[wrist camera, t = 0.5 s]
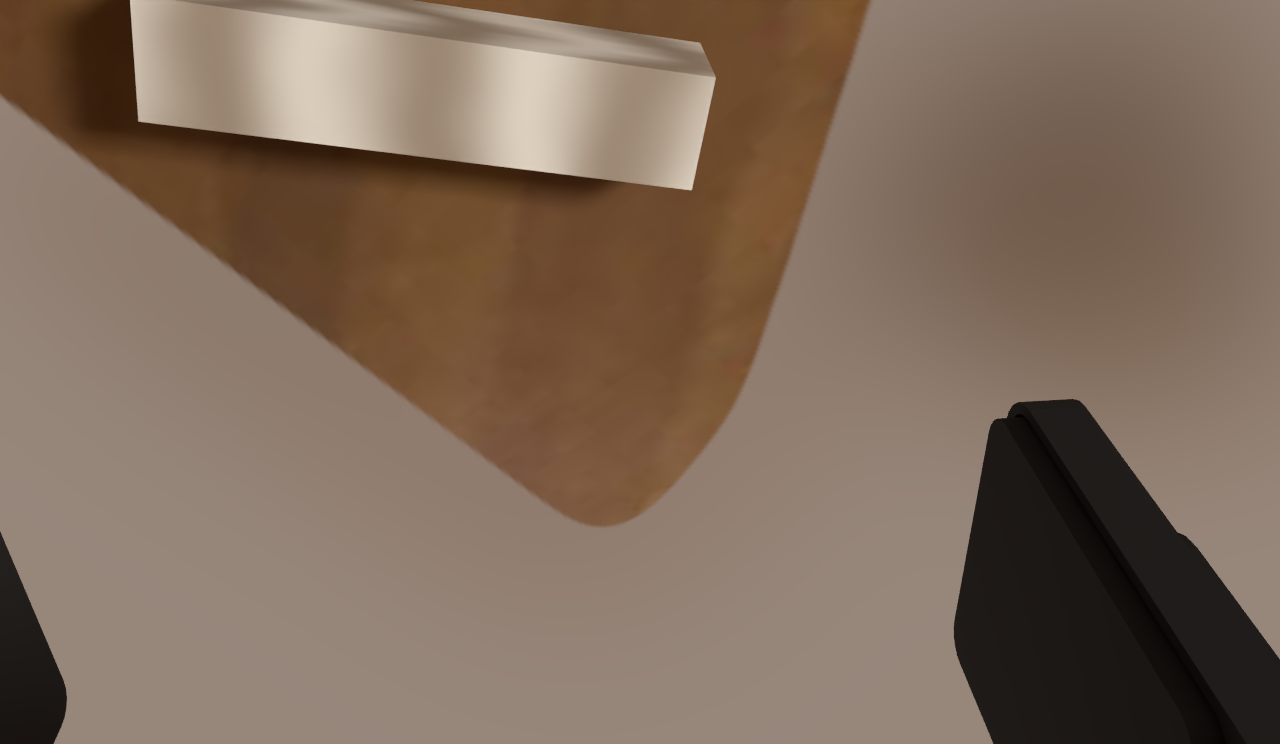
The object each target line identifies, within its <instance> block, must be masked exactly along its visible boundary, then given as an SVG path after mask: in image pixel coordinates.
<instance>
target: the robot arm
mask: <svg viewBox="0 0 1280 744" xmlns="http://www.w3.org/2000/svg"><path fill="white" fill-rule="evenodd" d="M954 640H955V647H956V652H957V656H958V659H959V662H960V664H961V667H962V669H963V672H964V674H965V676H966V679H967V681H968V684H969V686H970V688H971V691H972V693H973V696H974V698H975V700H976V703H977V705H978V707H979V710H980V712H981V715H982V717H983V720H984V722H985V724H986V727H987V729H988V732H989V734H990V736H991V739H992V741H993V744H1280V659H1279V658H1278V657H1277V655H1276V654H1275V652H1274V651H1273V650H1272V648H1271V647H1270V645H1269V644H1268V643H1267V641H1266V640H1265V639H1264V637H1263V636H1262V635H1261V633H1260V632H1259V631H1258V629H1257V628H1256V627H1255V625H1254V624H1253V623H1252V621H1251V620H1250V619H1249V617H1248V616H1247V614H1246V613H1245V612H1244V610H1243V609H1242V608H1241V606H1240V605H1239V604H1238V602H1237V601H1236V600H1235V598H1234V597H1233V595H1232V594H1231V593H1230V591H1229V590H1228V589H1227V587H1226V586H1225V585H1224V583H1223V582H1222V581H1221V579H1220V578H1219V577H1218V575H1217V574H1216V573H1215V571H1214V570H1213V568H1212V567H1211V566H1210V565H1209V563H1208V562H1207V560H1206V559H1205V558H1204V556H1203V555H1202V554H1201V552H1200V551H1199V550H1198V548H1197V547H1196V546H1195V545H1194V544H1193V543H1192V542H1191V541H1190V540H1189V539H1188V538H1187V537H1186V536H1184V535H1182V534H1180V533H1177V532H1176V530H1175V529H1174V527H1173V526H1172V525H1171V523H1170V522H1169V521H1168V519H1167V518H1166V516H1165V515H1164V514H1163V512H1162V511H1161V510H1160V508H1159V507H1158V505H1157V504H1156V503H1155V501H1154V500H1153V499H1152V497H1151V496H1150V495H1149V493H1148V492H1147V491H1146V489H1145V488H1144V486H1143V485H1142V484H1141V482H1140V481H1139V480H1138V478H1137V477H1136V475H1135V474H1134V473H1133V471H1132V470H1131V469H1130V467H1129V466H1128V464H1127V463H1126V462H1125V461H1124V459H1123V458H1122V457H1121V455H1120V453H1119V452H1118V451H1117V449H1116V448H1115V447H1114V445H1113V444H1112V442H1111V441H1110V440H1109V438H1108V437H1107V436H1106V434H1105V433H1104V432H1103V430H1102V429H1101V427H1100V426H1099V425H1098V423H1097V422H1096V421H1095V419H1094V418H1093V417H1092V415H1091V414H1090V412H1089V411H1088V410H1087V408H1086V407H1085V406H1084V405H1083V404H1082V403H1081V402H1080V401H1078V400H1074V399H1067V400H1050V401H1033V402H1018V403H1016V404H1014V405H1013V406H1012V407H1011V409H1010V411H1009V413H1008V416H1007V418H1002V419H996V420H994V421H993V423H992V424H991V427H990V430H989V434H988V440H987V445H986V451H985V456H984V462H983V467H982V473H981V478H980V484H979V489H978V495H977V501H976V506H975V511H974V517H973V522H972V528H971V533H970V539H969V544H968V550H967V555H966V561H965V566H964V572H963V577H962V582H961V588H960V594H959V599H958V604H957V610H956V615H955V622H954ZM66 702H67V696H66V687H65V684H64V681H63V678H62V676H61V674H60V671H59V669H58V667H57V664H56V662H55V659H54V657H53V655H52V652H51V650H50V648H49V645H48V643H47V641H46V638H45V636H44V634H43V631H42V629H41V627H40V624H39V622H38V619H37V617H36V615H35V613H34V610H33V608H32V606H31V603H30V601H29V598H28V596H27V594H26V591H25V589H24V587H23V584H22V582H21V580H20V577H19V575H18V573H17V570H16V568H15V565H14V563H13V561H12V558H11V556H10V554H9V551H8V549H7V547H6V544H5V542H4V539H3V537H2V535H1V532H0V744H54V741H55V739H56V737H57V734H58V732H59V730H60V728H61V726H62V723H63V720H64V717H65V712H66Z"/></svg>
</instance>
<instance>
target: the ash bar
mask: <svg viewBox="0 0 1280 744" xmlns="http://www.w3.org/2000/svg"><path fill="white" fill-rule="evenodd" d="M130 8H131V22H132V36H133V51H134V65H135V79H136V94H137V108H138V122H146V123H154V124H162V125H170V126H178V127H186V128H195V129H203V130H211V131H219V132H227V133H235V134H243V135H251V136H259V137H267V138H275V139H283V140H291V141H299V142H307V143H315V144H323V145H331V146H339V147H347V148H355V149H364V150H372V151H380V152H388V153H396V154H404V155H412V156H420V157H428V158H436V159H444V160H452V161H460V162H468V163H476V164H484V165H492V166H500V167H508V168H516V169H525V170H533V171H541V172H549V173H557V174H565V175H573V176H581V177H589V178H597V179H605V180H613V181H621V182H629V183H637V184H645V185H653V186H661V187H669V188H677V189H685V190H692V186H693V181H694V177H695V172H696V167H697V163H698V158H699V153H700V149H701V144H702V140H703V135H704V130H705V126H706V121H707V116H708V112H709V107H710V102H711V98H712V93H713V88H714V84H715V79H716V77H715V75H714V73H713V70H712V68H711V66H710V64H709V62H708V59H707V57H706V55H705V53H704V51H703V48H702V46H701V44H700V43H697V42H691V41H684V40H677V39H670V38H664V37H657V36H650V35H643V34H636V33H630V32H623V31H616V30H609V29H603V28H596V27H589V26H582V25H576V24H569V23H562V22H555V21H549V20H542V19H535V18H528V17H521V16H515V15H508V14H501V13H494V12H488V11H481V10H474V9H467V8H461V7H454V6H447V5H440V4H434V3H427V2H420V1H413V0H130Z"/></svg>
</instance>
